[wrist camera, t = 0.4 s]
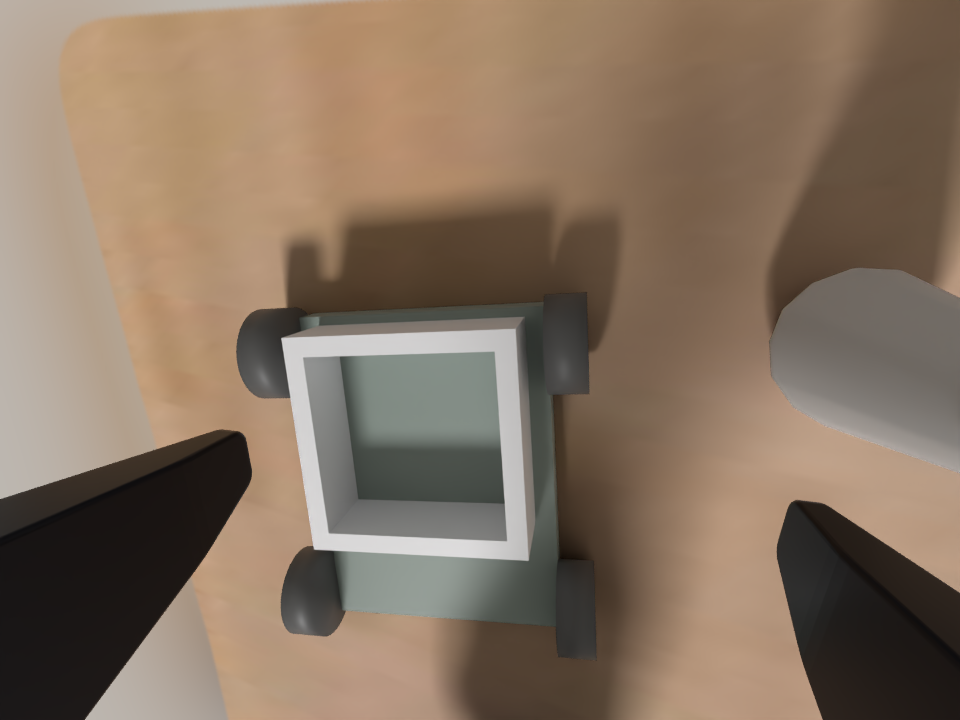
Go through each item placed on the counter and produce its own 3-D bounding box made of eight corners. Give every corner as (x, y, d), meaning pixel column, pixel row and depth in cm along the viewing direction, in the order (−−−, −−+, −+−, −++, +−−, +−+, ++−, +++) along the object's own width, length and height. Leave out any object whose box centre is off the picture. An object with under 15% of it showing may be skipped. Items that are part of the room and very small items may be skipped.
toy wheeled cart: (595, 616, 25) (597, 693, 21) (328, 597, 28) (282, 661, 24) (586, 287, 22) (586, 299, 18) (283, 304, 25) (220, 317, 21)
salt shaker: (821, 435, 21) (1147, 705, 9) (719, 342, 21) (904, 485, 9) (949, 333, 20) (1569, 493, 7) (838, 232, 20) (1273, 220, 7)
